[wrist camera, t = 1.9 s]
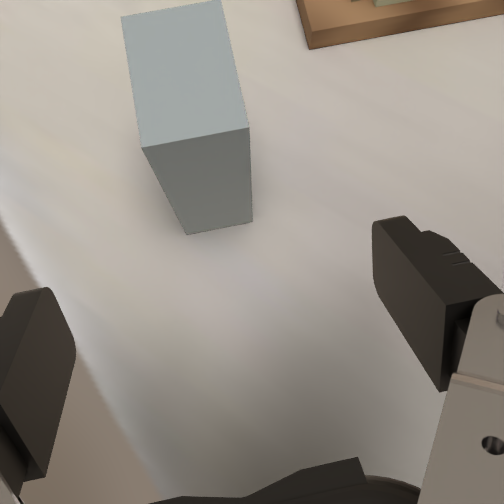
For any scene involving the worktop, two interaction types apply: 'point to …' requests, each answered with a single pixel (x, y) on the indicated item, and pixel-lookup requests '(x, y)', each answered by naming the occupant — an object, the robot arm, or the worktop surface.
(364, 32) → the brown framed socket base
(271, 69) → the worktop surface
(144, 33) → the pale grey rectangular prism
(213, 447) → the worktop surface
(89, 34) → the worktop surface
